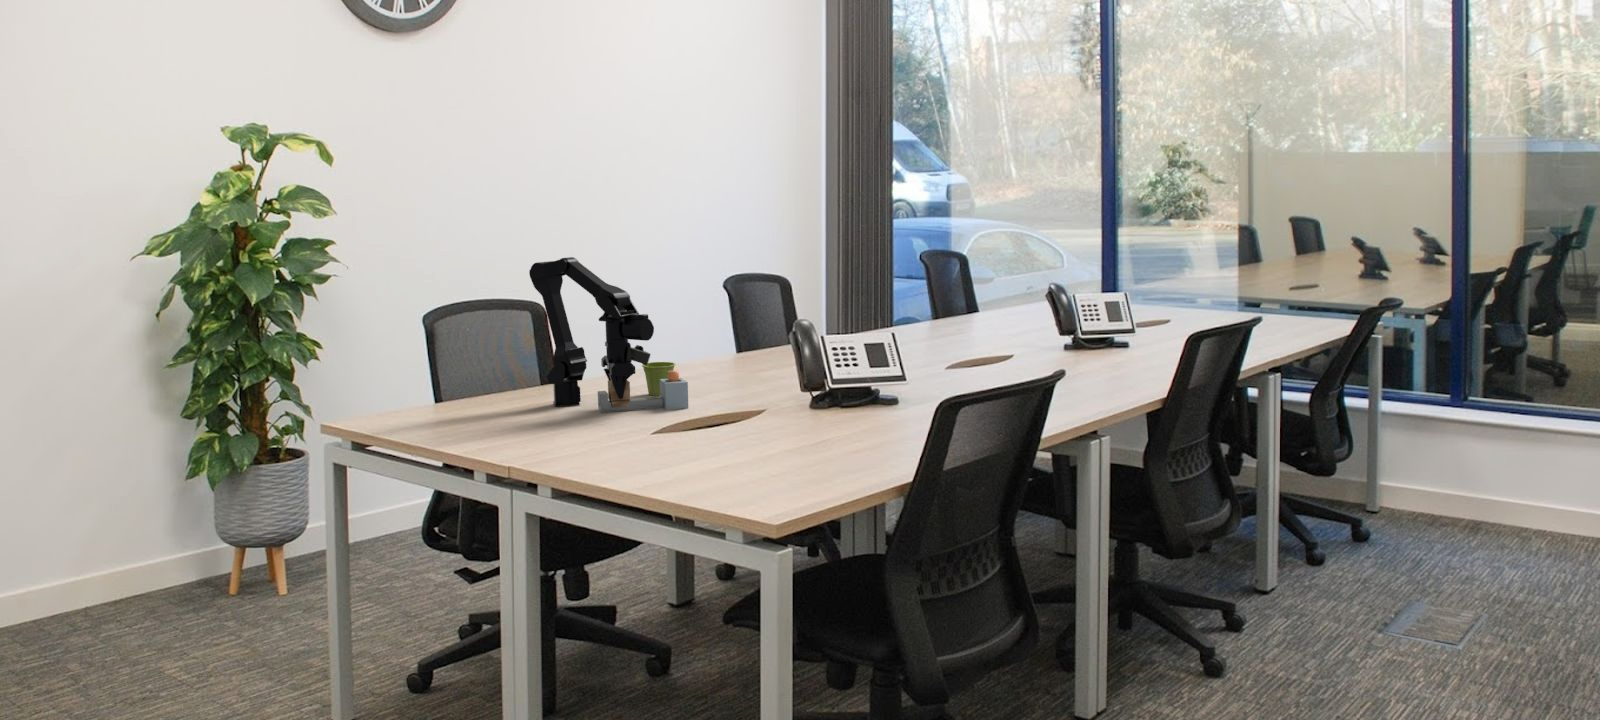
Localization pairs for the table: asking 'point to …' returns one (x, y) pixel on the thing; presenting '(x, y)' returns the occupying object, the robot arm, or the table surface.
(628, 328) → the robot arm
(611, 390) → the block
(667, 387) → the blue grey open box
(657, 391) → the plant pot
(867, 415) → the table surface
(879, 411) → the table surface
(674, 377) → the brown egg
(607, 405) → the rail
